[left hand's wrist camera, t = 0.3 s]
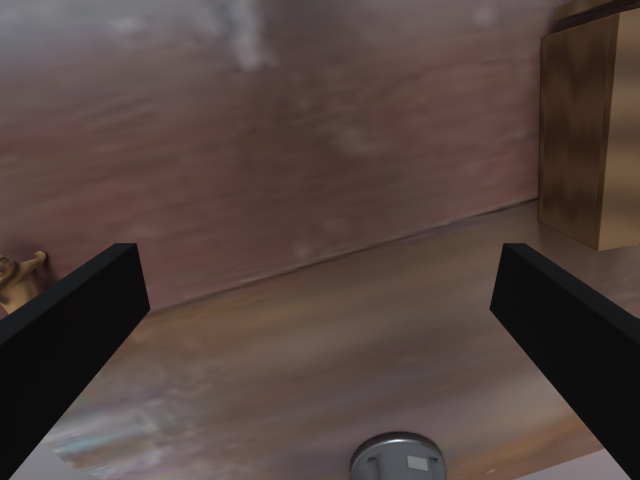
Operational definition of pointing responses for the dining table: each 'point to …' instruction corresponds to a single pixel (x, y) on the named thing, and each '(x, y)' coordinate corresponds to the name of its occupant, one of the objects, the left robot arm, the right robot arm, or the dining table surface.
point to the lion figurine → (17, 281)
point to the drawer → (586, 7)
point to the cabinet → (592, 132)
